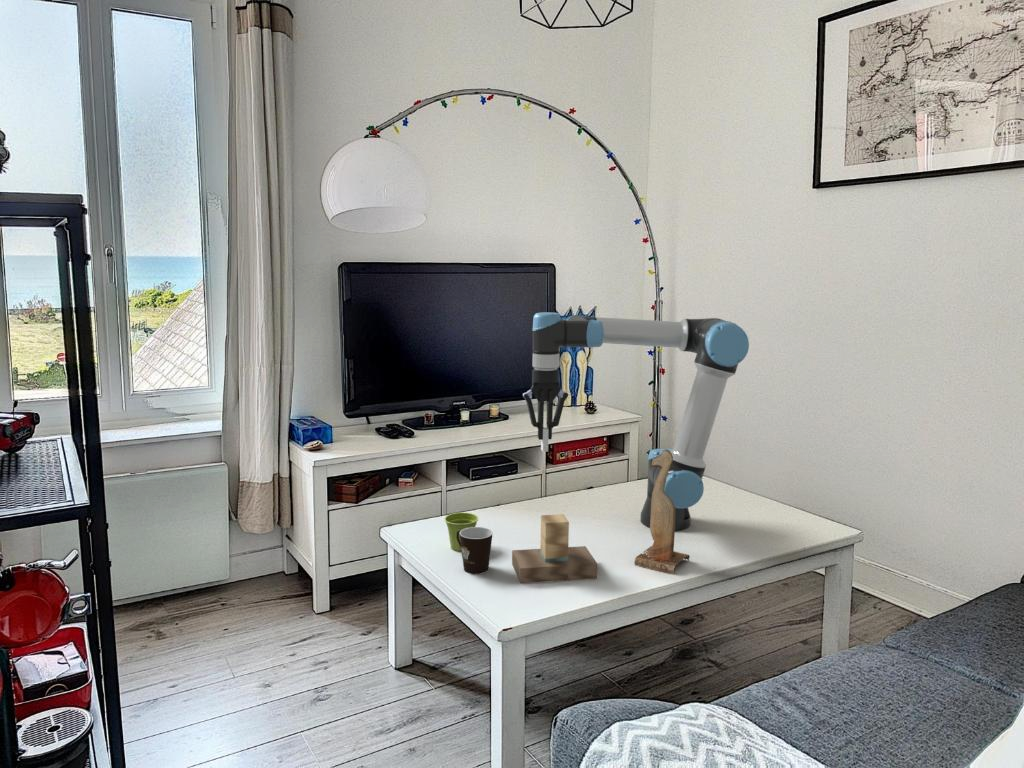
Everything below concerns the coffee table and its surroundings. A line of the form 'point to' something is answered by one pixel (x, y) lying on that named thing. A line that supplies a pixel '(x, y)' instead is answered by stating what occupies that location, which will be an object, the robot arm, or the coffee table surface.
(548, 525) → the oak peg
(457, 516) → the plant pot
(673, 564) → the bird sculpture
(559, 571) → the walnut board
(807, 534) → the coffee table surface
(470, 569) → the coffee mug
